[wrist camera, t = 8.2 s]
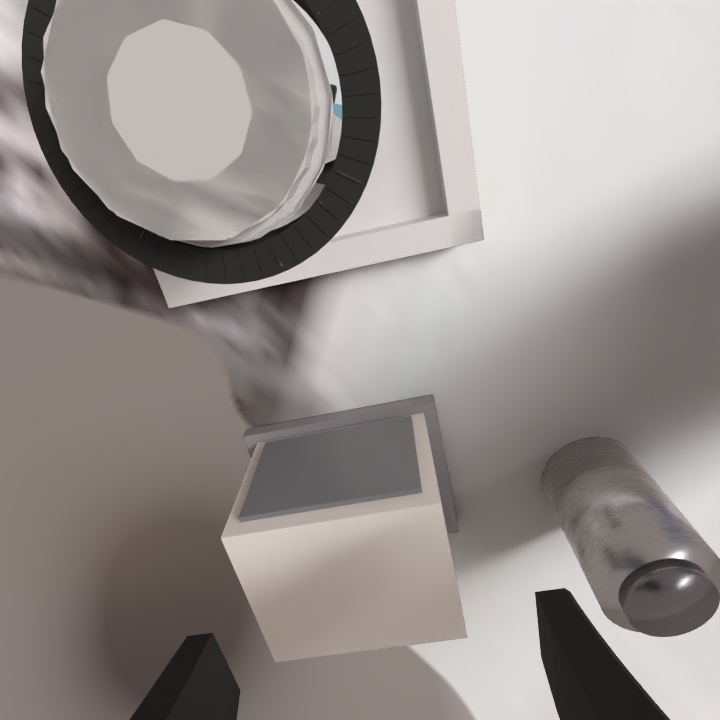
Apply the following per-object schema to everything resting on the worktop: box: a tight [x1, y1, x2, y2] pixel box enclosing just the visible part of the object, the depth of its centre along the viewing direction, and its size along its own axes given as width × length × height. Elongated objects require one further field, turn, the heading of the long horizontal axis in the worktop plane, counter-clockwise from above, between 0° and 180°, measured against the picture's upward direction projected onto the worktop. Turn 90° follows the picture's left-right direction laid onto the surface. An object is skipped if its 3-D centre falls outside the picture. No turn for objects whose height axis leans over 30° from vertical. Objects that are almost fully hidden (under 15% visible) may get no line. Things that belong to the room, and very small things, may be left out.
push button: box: [22, 0, 381, 284], centre depth 11 cm, size 7×5×10 cm
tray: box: [153, 0, 484, 308], centre depth 15 cm, size 11×13×2 cm
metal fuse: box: [542, 437, 720, 637], centre depth 18 cm, size 4×4×7 cm
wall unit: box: [221, 395, 467, 662], centre depth 19 cm, size 8×7×6 cm
